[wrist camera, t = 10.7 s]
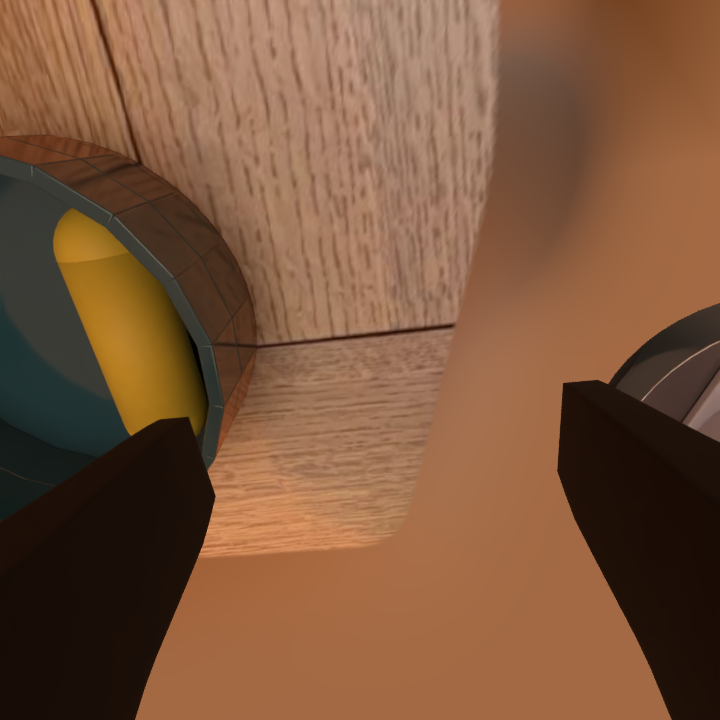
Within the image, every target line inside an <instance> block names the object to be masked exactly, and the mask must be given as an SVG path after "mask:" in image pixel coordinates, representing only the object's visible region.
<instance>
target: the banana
mask: <svg viewBox="0 0 720 720" xmlns="http://www.w3.org/2000/svg"><path fill="white" fill-rule="evenodd" d="M53 248H54V254H55V257H56V261H57V263H58V266H59V268H60V270H61V273H62V275H63V278H64V280H65V283H66V285H67V287H68V290H69V292H70V295H71V297H72V300H73V302H74V304H75V307H76V309H77V312H78V314H79V317H80V319H81V322H82V324H83V326H84V329H85V331H86V334H87V336H88V339H89V341H90V343H91V346H92V348H93V351H94V353H95V356H96V358H97V360H98V363H99V365H100V368H101V370H102V373H103V375H104V377H105V380H106V382H107V385H108V387H109V390H110V392H111V394H112V397H113V399H114V402H115V404H116V407H117V409H118V411H119V414H120V416H121V419H122V421H123V424H124V426H125V428H126V430H127V431H128V433H129V434H130V435H131V436H132V435H133V434H135V433H137V432H138V431H140V430H141V429H143V428H145V427H146V426H148V425H150V424H152V423H153V422H155V421H157V420H159V419H168V418H179V417H189V419H190V422H191V425H192V428H193V431H194V434H195V437H197V436H198V435H199V434H200V433H201V431H202V429H203V428H204V426H205V424H206V421H207V416H208V410H209V403H208V398H207V394H206V391H205V388H204V385H203V382H202V378H201V375H200V372H199V369H198V366H197V362H196V359H195V356H194V353H193V349H192V346H191V343H190V340H189V337H188V333H187V330H186V327H185V324H184V322H183V321H182V319H181V317H180V315H179V313H178V312H177V310H176V308H175V306H174V305H173V303H172V301H171V299H170V298H169V296H168V294H167V292H166V290H165V289H164V287H163V285H162V284H161V283H160V282H159V281H158V280H157V279H156V278H155V277H154V276H153V275H152V274H151V273H150V272H149V271H148V270H147V269H146V268H145V267H144V266H143V265H142V264H141V263H140V262H139V261H138V260H137V259H136V258H135V257H134V256H133V255H132V254H131V253H130V252H129V251H128V250H127V249H126V248H125V247H124V246H123V245H122V244H121V243H120V242H119V241H118V240H117V239H116V238H115V237H114V236H113V235H112V234H111V233H110V232H109V231H108V230H107V228H105V227H104V226H102V225H100V224H99V223H97V222H95V221H94V220H92V219H90V218H89V217H87V216H85V215H84V214H82V213H81V212H79V211H77V210H76V209H74V208H71V209H70V210H68V211H67V212H66V213H65V214H64V215H63V216H62V218H61V219H60V220H59V222H58V224H57V227H56V229H55V232H54V238H53Z"/></svg>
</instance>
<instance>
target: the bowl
mask: <svg viewBox="0 0 720 720" xmlns="http://www.w3.org/2000/svg"><path fill="white" fill-rule="evenodd" d="M71 208H74V209H76V210H77V211H79V212H81V213H82V214H84V215H85V216H87V217H89V218H90V219H92V220H94V221H95V222H97V223H99V224H100V225H102V226H104V227H105V228H107V230H108V231H109V232H110V233H111V234H112V235H113V236H114V237H115V238H116V239H117V240H118V241H119V242H120V243H121V244H122V245H123V246H124V247H125V248H126V249H127V250H128V251H129V252H130V253H131V254H132V255H133V256H134V257H135V258H136V259H137V260H138V261H139V262H140V263H141V264H142V265H143V266H144V267H145V268H146V269H147V270H148V271H149V272H150V273H151V274H152V275H153V276H154V277H155V278H156V279H157V280H158V281H159V282H160V283H161V284H162V285H163V287H164V289H165V290H166V292H167V294H168V296H169V298H170V299H171V301H172V303H173V305H174V306H175V308H176V310H177V312H178V313H179V315H180V317H181V319H182V321H183V322H184V324H185V327H186V330H187V333H188V337H189V340H190V343H191V346H192V349H193V353H194V356H195V359H196V362H197V366H198V369H199V372H200V375H201V378H202V382H203V385H204V388H205V391H206V394H207V398H208V403H209V410H208V416H207V421H206V424H205V426H204V428H203V429H202V431H201V433H200V434H199V435H198V436H197V437H196V440H197V443H198V446H199V449H200V451H201V454H202V457H203V460H204V463H205V466H206V469H207V470H208V469H209V467H210V466H211V464H212V463H213V461H214V460H215V458H216V456H217V454H218V452H219V450H220V448H221V446H222V444H223V442H224V440H225V438H226V436H227V433H228V431H229V429H230V427H231V425H232V423H233V421H234V419H235V417H236V415H237V413H238V411H239V409H240V407H241V405H242V403H243V401H244V399H245V397H246V394H247V390H248V385H249V383H250V379H251V376H252V372H253V369H254V365H255V357H256V349H257V337H256V322H255V316H254V310H253V304H252V301H251V298H250V294H249V291H248V288H247V284H246V282H245V280H244V277H243V275H242V273H241V271H240V268H239V266H238V264H237V262H236V260H235V258H234V257H233V255H232V253H231V252H230V250H229V248H228V247H227V245H226V243H225V242H224V240H223V239H222V237H221V236H220V235H219V233H218V232H217V231H216V229H215V228H214V227H213V225H212V224H211V223H210V222H209V220H208V219H207V218H206V217H205V216H204V215H203V214H202V213H201V212H200V211H199V210H198V209H197V207H196V206H195V205H194V204H193V203H192V202H191V201H190V200H189V199H188V198H187V197H185V196H184V195H183V194H182V193H181V192H179V191H178V190H177V189H176V188H175V187H173V186H172V185H171V184H170V183H169V182H167V181H166V180H164V179H163V178H161V177H160V176H158V175H157V174H155V173H154V172H152V171H151V170H149V169H148V168H146V167H145V166H143V165H141V164H139V163H137V162H135V161H133V160H131V159H129V158H127V157H125V156H123V155H121V154H119V153H117V152H114V151H111V150H109V149H106V148H103V147H100V146H98V145H95V144H92V143H88V142H83V141H79V140H74V139H70V138H66V137H56V136H53V135H26V136H4V137H0V522H1V521H3V520H4V519H6V518H7V517H9V516H10V515H12V514H14V513H15V512H17V511H18V510H20V509H21V508H23V507H25V506H26V505H28V504H29V503H31V502H32V501H34V500H36V499H37V498H39V497H40V496H42V495H43V494H45V493H47V492H48V491H50V490H51V489H53V488H54V487H56V486H57V485H59V484H61V483H62V482H64V481H65V480H67V479H68V478H69V477H71V476H72V475H74V474H75V473H77V472H78V471H80V470H81V469H83V468H84V467H86V466H87V465H89V464H90V463H92V462H93V461H95V460H96V459H98V458H99V457H100V456H102V455H103V454H105V453H106V452H108V451H109V450H111V449H112V448H114V447H115V446H117V445H118V444H120V443H121V442H123V441H124V440H126V439H127V438H129V437H130V436H131V435H130V434H129V433H128V431H127V430H126V428H125V426H124V424H123V421H122V419H121V416H120V414H119V411H118V409H117V407H116V404H115V402H114V399H113V397H112V394H111V392H110V390H109V387H108V385H107V382H106V380H105V377H104V375H103V373H102V370H101V368H100V365H99V363H98V360H97V358H96V356H95V353H94V351H93V348H92V346H91V343H90V341H89V339H88V336H87V334H86V331H85V329H84V326H83V324H82V322H81V319H80V317H79V314H78V312H77V309H76V307H75V304H74V302H73V300H72V297H71V295H70V292H69V290H68V287H67V285H66V283H65V280H64V278H63V275H62V273H61V270H60V268H59V266H58V263H57V261H56V257H55V254H54V248H53V238H54V232H55V229H56V227H57V224H58V222H59V220H60V219H61V218H62V216H63V215H64V214H65V213H66V212H67V211H68V210H70V209H71Z"/></svg>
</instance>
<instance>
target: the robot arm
mask: <svg viewBox="0 0 720 720" xmlns="http://www.w3.org/2000/svg"><path fill="white" fill-rule="evenodd" d="M557 471H558V474H559V477H560V480H561V483H562V486H563V489H564V492H565V494H566V497H567V500H568V503H569V505H570V508H571V511H572V513H573V516H574V519H575V521H576V523H577V525H578V527H579V529H580V531H581V533H582V535H583V536H584V538H585V540H586V542H587V544H588V546H589V548H590V550H591V552H592V554H593V556H594V558H595V560H596V562H597V564H598V565H599V567H600V569H601V571H602V573H603V575H604V577H605V579H606V581H607V583H608V585H609V587H610V588H611V590H612V592H613V594H614V596H615V598H616V600H617V602H618V604H619V606H620V608H621V610H622V611H623V613H624V615H625V617H626V619H627V621H628V623H629V625H630V627H631V629H632V631H633V632H634V634H635V636H636V638H637V641H638V643H639V645H640V646H641V649H642V651H643V653H644V655H645V657H646V659H647V661H648V664H649V666H650V668H651V670H652V673H653V675H654V678H655V680H656V683H657V685H658V687H659V690H660V692H661V695H662V697H663V700H664V702H665V705H666V707H667V709H668V712H669V714H670V716H671V719H672V720H720V370H719V371H718V373H717V374H716V376H715V377H714V378H713V380H712V381H711V383H710V384H709V385H708V387H707V388H706V390H705V391H704V393H703V394H702V395H701V397H700V398H699V400H698V401H697V402H696V404H695V405H694V407H693V408H692V410H691V411H690V412H689V414H688V415H687V417H686V418H685V419H684V421H683V422H682V423H681V422H679V421H677V420H675V419H673V418H672V417H670V416H668V415H666V414H664V413H662V412H660V411H658V410H656V409H655V408H653V407H651V406H649V405H647V404H645V403H643V402H641V401H639V400H638V399H636V398H634V397H632V396H630V395H628V394H626V393H624V392H622V391H620V390H618V389H616V388H614V387H612V386H610V385H608V384H606V383H604V382H601V381H599V380H592V381H581V382H569V383H563V394H562V409H561V424H560V439H559V454H558V469H557ZM215 497H216V496H215V493H214V490H213V487H212V484H211V481H210V478H209V475H208V472H207V469H206V466H205V463H204V460H203V457H202V454H201V451H200V449H199V446H198V443H197V440H196V437H195V434H194V431H193V428H192V425H191V422H190V419H189V417H179V418H168V419H159V420H157V421H155V422H153V423H152V424H150V425H148V426H146V427H145V428H143V429H141V430H140V431H138V432H137V433H135V434H133V435H132V436H130V437H129V438H127V439H126V440H124V441H123V442H121V443H120V444H118V445H117V446H115V447H114V448H112V449H111V450H109V451H108V452H106V453H105V454H103V455H102V456H100V457H99V458H98V459H96V460H95V461H93V462H92V463H90V464H89V465H87V466H86V467H84V468H83V469H81V470H80V471H78V472H77V473H75V474H74V475H72V476H71V477H69V478H68V479H67V480H65V481H64V482H62V483H61V484H59V485H57V486H56V487H54V488H53V489H51V490H50V491H48V492H47V493H45V494H43V495H42V496H40V497H39V498H37V499H36V500H34V501H32V502H31V503H29V504H28V505H26V506H25V507H23V508H21V509H20V510H18V511H17V512H15V513H14V514H12V515H10V516H9V517H7V518H6V519H4V520H3V521H1V522H0V720H135V718H136V715H137V711H138V708H139V705H140V701H141V699H142V695H143V692H144V689H145V686H146V683H147V680H148V677H149V675H150V672H151V670H152V667H153V664H154V661H155V659H156V656H157V654H158V651H159V649H160V647H161V645H162V642H163V640H164V637H165V635H166V633H167V630H168V628H169V625H170V623H171V621H172V618H173V616H174V613H175V611H176V609H177V606H178V604H179V602H180V599H181V597H182V594H183V592H184V589H185V587H186V585H187V582H188V580H189V578H190V575H191V573H192V570H193V568H194V565H195V563H196V560H197V558H198V556H199V553H200V550H201V548H202V545H203V543H204V539H205V536H206V532H207V528H208V525H209V521H210V517H211V513H212V509H213V505H214V501H215Z"/></svg>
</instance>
